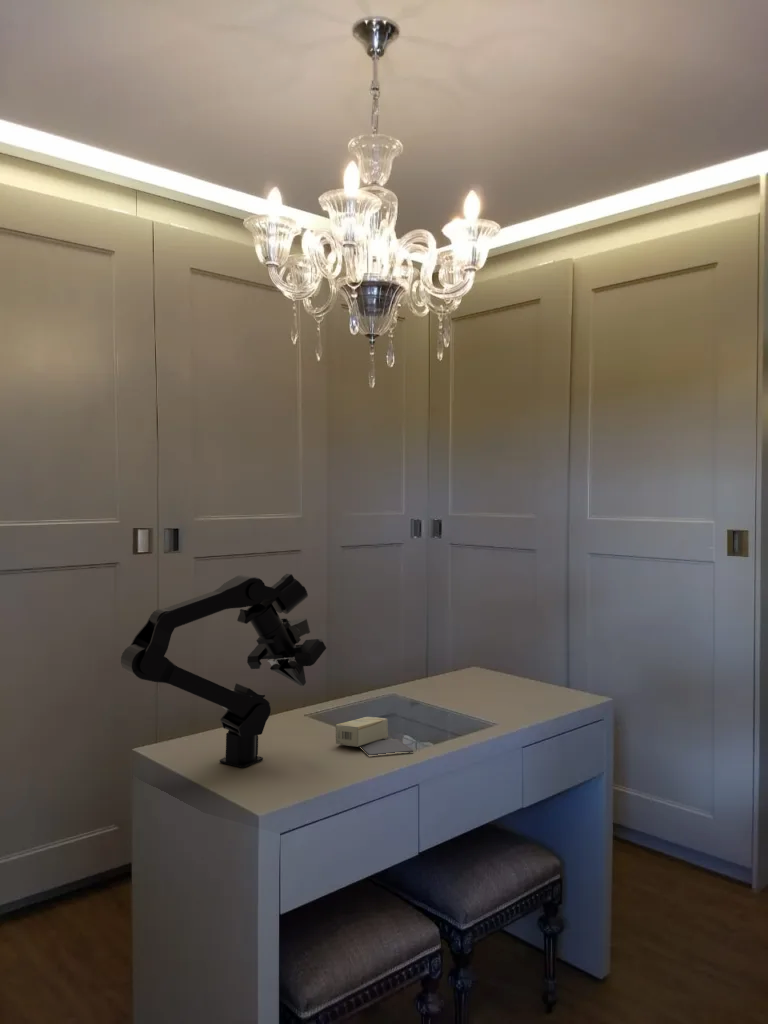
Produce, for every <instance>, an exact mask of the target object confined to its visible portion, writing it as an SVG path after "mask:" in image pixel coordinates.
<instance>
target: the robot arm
mask: <svg viewBox="0 0 768 1024" xmlns="http://www.w3.org/2000/svg"><path fill="white" fill-rule="evenodd" d="M308 596H309V595H308V591H307V589H306V587H305V586H304V585H303V584H302V583H301V582H300V581H299V580H298V579H296V578H295V577H294V576H293V574H291V573H285V574H284V575H283V576H282V577H281V578H280V579H279V581H276V583H274V584H273V585H272V586H268V585H266V584H265V583H264V581H263V580H262V579H260V578H259V577H257V576H256V577H255V576H249V575H243V574H240V575H237V576H235V577H233V578H231V579H229V580H228V581H226V582H224V583H223V584H221V586H219V587H218V588H216V589H215V590H213V591H210V592H208V593H205V594H202V595H198V596H196V597H193V598H190V599H187V600H184V601H181V602H179V603H176V604H173V605H170V606H168V607H164V608H158V609H156V610H153V612H152V613H151V614H150V616H149V618H148V619H147V622H146V623H145V624H144V625H143V626H142V627H141V629H140V630H139V631H138V633H137V634H136V635H135V636H134V638H133V640H132V642H131V644H130V645H129V646H127V647H126V648H125V649H124V651H123V652H122V653H121V655H120V656H121V657H120V664H121V667H122V669H123V671H125V672H127V673H128V674H130V675H132V676H134V677H136V678H138V679H140V680H143V681H149V682H154V683H159V684H166V685H167V684H168V685H171V686H173V687H176V688H178V689H180V690H183V691H185V692H187V693H190V694H192V695H195V696H196V697H199V698H201V699H204V700H206V701H209V702H211V703H213V704H216V705H218V706H221V708H223V709H224V710H225V711H226V712H225V713H224V714H223V715H222V717H220V723H221V726H222V728H223V729H225V730H227V732H226V734H225V757H223V758H221V759H219V763H221V764H225V765H229V766H233V767H238V768H242V769H243V768H246V767H249V766H251V765H254V764H256V763H258V762H261V761H263V760H264V757H263V756H259V755H258V754H259V736H260V735H262V734H263V732H264V729H265V726H266V724H267V723H266V722H267V721H268V719H269V717H270V715H271V704H270V701H269V700H267V699H266V698H265V697H266V695H265V694H264V693H261V692H259V691H256V690H254V689H251V688H249V687H247V686H244V685H242V684H239V683H238V682H237V683H236V682H235V685H234V688H227V687H225V686H222V685H221V684H218V683H216V682H214V681H211V680H209V679H207V678H204V677H202V676H199V675H198V674H196V673H193V672H190V671H189V670H186V669H184V668H181V667H180V666H177V665H176V664H175V663H174V662H173V661H171V660H170V659H169V658H167V657H166V653H167V652H168V649H169V645H170V641H171V638H172V634H173V632H174V631H175V629H177V628H179V627H181V626H184V625H187V624H189V623H193V622H195V621H198V620H200V619H203V618H206V617H208V616H212V615H215V614H217V613H220V612H223V611H225V610H229V609H240V608H241V609H240V610H239V614H238V616H237V619H236V620H237V622H238V623H241V624H249V623H250V624H251V626H252V628H253V629H254V631H255V633H256V634H257V636H258V638H257V639H256V642H257V645H256V647H254V648H253V650H252V651H251V652H250V653H249V654H248V656H247V660H246V661H247V662H246V663H247V664H248V666H249V668H250V669H251V670H258V669H259V670H260V669H261V668H262V663H261V660H266V662H267V663H269V664H270V670H271V671H272V672H276V673H278V675H281V676H284V677H285V678H286V679H288V680H290V681H292V682H294V683H296V684H297V685H299V686H301V687H303V686H305V684H306V683H307V681H306V680H307V679H306V673H305V668H304V667H312V666H313V665H315V664H316V662H317V661H318V660H319V658H320V657H321V656H322V654H323V653H324V652H325V650H326V649H327V646H326V645H325V642H324V641H323V639H321V638H315V639H314V638H313V639H312V638H311V639H306V640H305V641H304V642H302V643H301V644H299V643H300V641H301V637H302V636H304V635H306V634H307V635H308V634H311V630H310V627H309V622H308V619H307V618H297V619H293V620H292V619H291V620H288V618H286V617H284V618H281V617H280V615H279V614H282V613H284V614H285V615H288V614H289V613H291V612H292V611H293V610H294V609H296V607H298V606H299V605H300V604H301V603H302V602H304V601H305V600H306V599H307V598H308ZM246 607H247V608H246ZM243 608H246V609H243ZM278 613H279V614H278Z"/></svg>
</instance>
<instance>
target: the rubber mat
mask: <svg viewBox="0 0 768 1024" xmlns="http://www.w3.org/2000/svg"><path fill="white" fill-rule="evenodd" d="M359 747H361V748H362V749H363V750H364V751H365V752H366V753H367V754H368V755H378V754H386V753H395V752H413V753H414V750H413V748H411V747H410V746H408V745H407V744H405V743H404V742H403V741H402V740H400V739H399V738H392V739H380V740H377V741H374V742H371V743H368V744H364V745H361V746H359ZM359 747H358V748H359ZM368 755H367V756H368Z"/></svg>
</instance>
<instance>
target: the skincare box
mask: <svg viewBox="0 0 768 1024" xmlns="http://www.w3.org/2000/svg"><path fill="white" fill-rule="evenodd" d="M388 729H389V727H388V718H384V717H375V716H364V717H361V718H357V719H352V720H349V721H345V722H341V723H337V724H335V744H336V745H340V746H347V747H348V746H349V747H358V746H361V745H364V744H368V743H371V742H374V741H377V740H385V739H387V738H388V737H389V736H388V735H389V731H388ZM358 748H359V747H358Z"/></svg>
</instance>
